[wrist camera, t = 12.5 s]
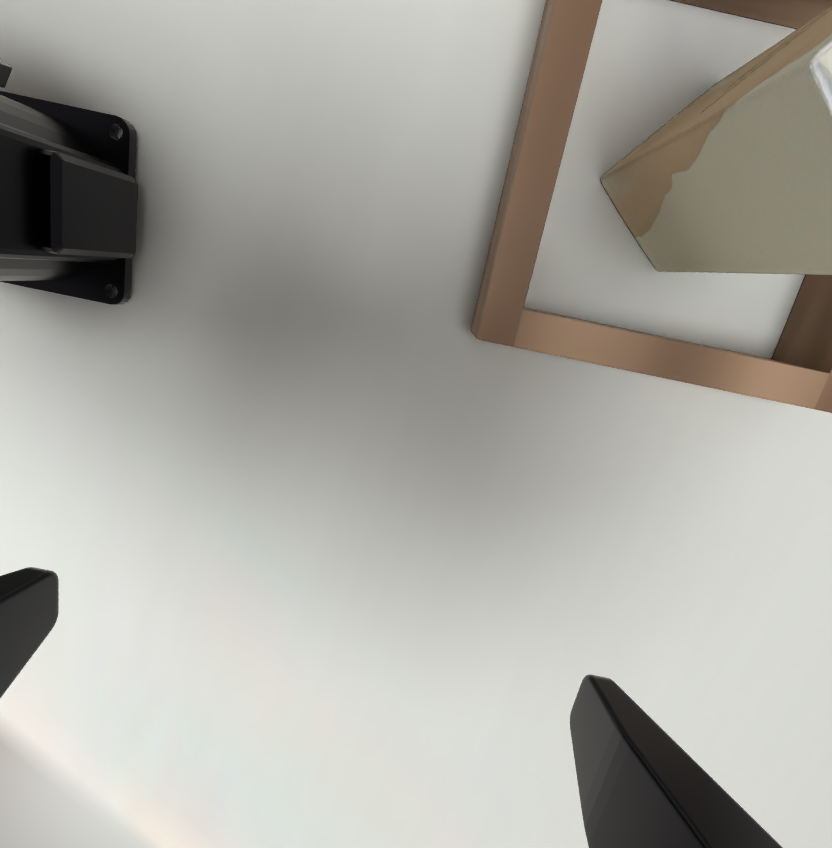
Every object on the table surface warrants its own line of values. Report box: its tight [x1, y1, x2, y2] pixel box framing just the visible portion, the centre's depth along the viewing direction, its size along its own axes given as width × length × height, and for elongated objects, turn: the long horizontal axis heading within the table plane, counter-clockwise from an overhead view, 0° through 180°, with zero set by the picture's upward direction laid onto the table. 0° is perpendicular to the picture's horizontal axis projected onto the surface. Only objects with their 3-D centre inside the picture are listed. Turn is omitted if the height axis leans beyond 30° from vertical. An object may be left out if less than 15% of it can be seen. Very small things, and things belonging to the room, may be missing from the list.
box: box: [601, 7, 832, 275], centre depth 13 cm, size 5×4×11 cm
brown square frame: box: [471, 0, 832, 413], centre depth 17 cm, size 13×13×3 cm
